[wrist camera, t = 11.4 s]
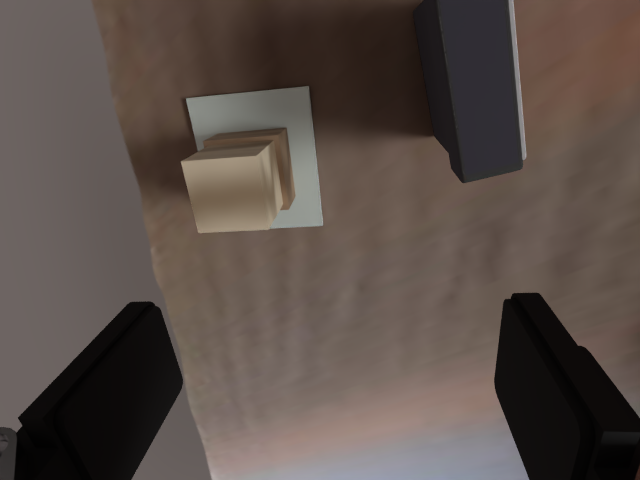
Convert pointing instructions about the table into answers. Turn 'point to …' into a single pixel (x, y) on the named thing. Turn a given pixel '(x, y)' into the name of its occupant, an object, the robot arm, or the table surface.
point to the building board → (269, 113)
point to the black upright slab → (473, 84)
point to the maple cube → (234, 186)
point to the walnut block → (280, 148)
